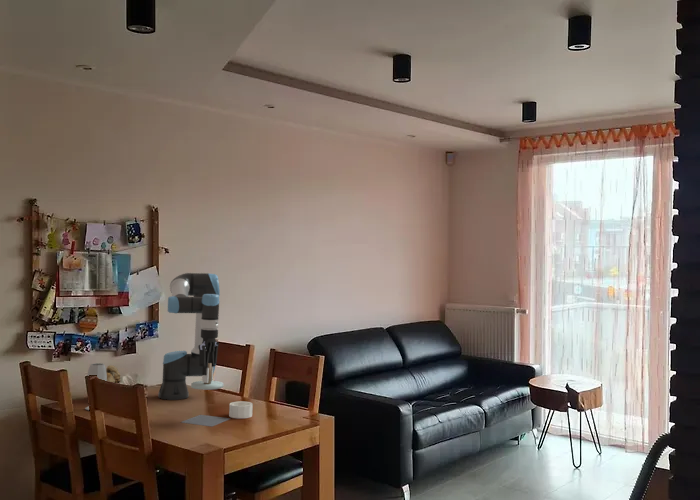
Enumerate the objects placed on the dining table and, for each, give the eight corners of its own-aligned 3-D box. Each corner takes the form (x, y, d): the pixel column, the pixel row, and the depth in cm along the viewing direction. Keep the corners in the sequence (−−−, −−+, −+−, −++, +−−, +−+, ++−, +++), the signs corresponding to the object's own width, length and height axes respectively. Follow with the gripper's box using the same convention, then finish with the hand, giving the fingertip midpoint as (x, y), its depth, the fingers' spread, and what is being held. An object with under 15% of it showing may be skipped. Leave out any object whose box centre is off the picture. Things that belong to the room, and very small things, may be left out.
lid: (202, 382, 301) (203, 359, 301) (229, 385, 296) (230, 362, 296) (184, 387, 288) (185, 364, 288) (212, 390, 283) (213, 367, 283)
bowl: (236, 412, 309) (236, 400, 309) (256, 415, 306) (256, 402, 306) (224, 417, 299) (225, 404, 299) (245, 420, 296) (245, 407, 296)
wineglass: (81, 409, 305) (83, 364, 305) (95, 406, 313) (97, 362, 313) (96, 412, 301) (98, 366, 302) (109, 408, 309) (111, 363, 310)
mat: (200, 415, 302) (200, 414, 302) (231, 419, 296) (231, 418, 296) (180, 423, 287) (180, 422, 287) (212, 427, 281) (212, 426, 281)
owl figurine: (94, 396, 335) (96, 362, 336) (119, 395, 340) (121, 362, 340) (94, 403, 319) (96, 368, 319) (120, 402, 323) (122, 367, 323)
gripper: (207, 331, 283) (204, 385, 283) (226, 327, 298) (224, 379, 298) (192, 330, 286) (190, 383, 286) (211, 326, 301) (209, 377, 301)
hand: (207, 381), depth 292 cm, fingers closed on lid, 3 cm apart
